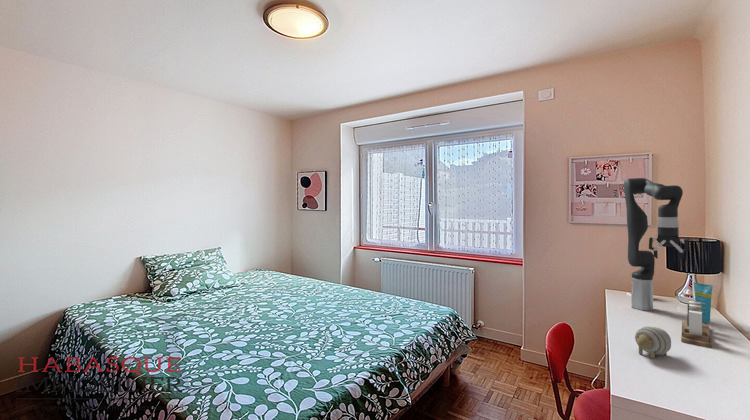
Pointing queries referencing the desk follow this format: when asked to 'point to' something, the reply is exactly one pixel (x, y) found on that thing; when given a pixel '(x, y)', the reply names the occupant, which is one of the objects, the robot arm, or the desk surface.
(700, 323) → the grey finger
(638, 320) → the desk surface
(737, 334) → the desk surface
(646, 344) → the toy sheep
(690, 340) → the rail
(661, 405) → the desk surface
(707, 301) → the tube
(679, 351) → the desk surface
